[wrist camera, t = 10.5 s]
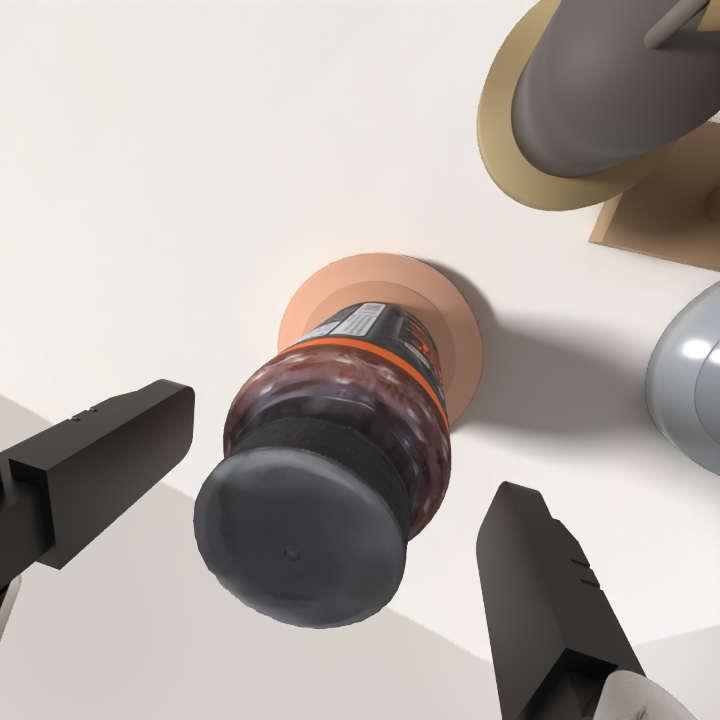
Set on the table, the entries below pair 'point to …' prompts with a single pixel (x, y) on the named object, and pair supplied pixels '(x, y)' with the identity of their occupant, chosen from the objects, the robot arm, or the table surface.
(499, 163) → the balance
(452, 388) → the terracotta dish
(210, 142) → the table surface
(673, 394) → the slate dish
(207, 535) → the supplement bottle
